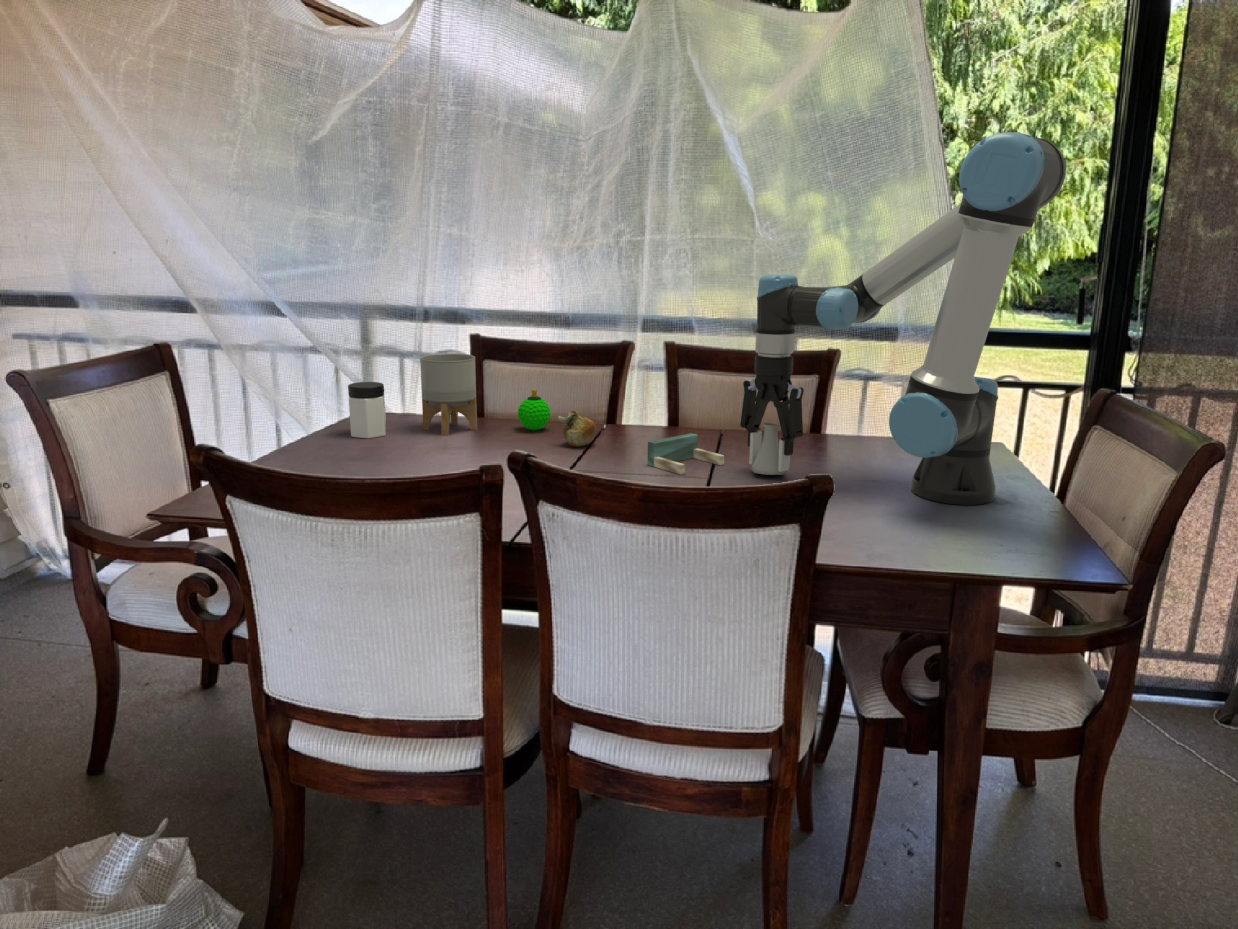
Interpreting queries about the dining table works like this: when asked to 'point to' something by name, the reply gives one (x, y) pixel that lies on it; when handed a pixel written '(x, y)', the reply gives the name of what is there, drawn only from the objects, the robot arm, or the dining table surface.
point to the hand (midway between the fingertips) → (769, 466)
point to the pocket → (678, 453)
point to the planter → (448, 389)
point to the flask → (768, 452)
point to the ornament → (534, 412)
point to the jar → (367, 409)
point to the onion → (578, 429)
